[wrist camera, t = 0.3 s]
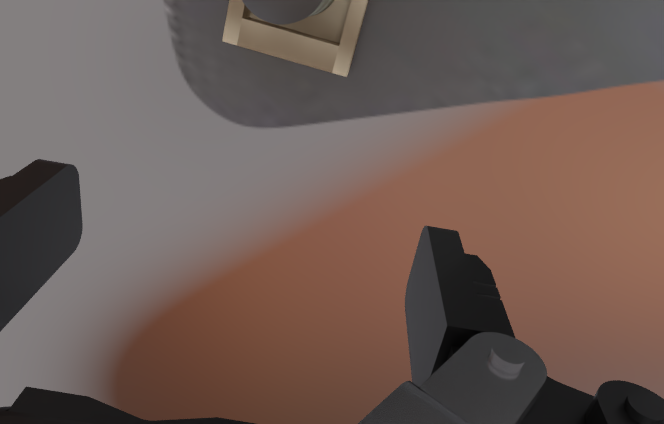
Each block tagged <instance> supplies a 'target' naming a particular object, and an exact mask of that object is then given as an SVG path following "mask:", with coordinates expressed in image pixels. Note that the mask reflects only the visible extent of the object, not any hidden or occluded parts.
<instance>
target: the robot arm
mask: <svg viewBox="0 0 664 424" xmlns="http://www.w3.org/2000/svg"><path fill="white" fill-rule="evenodd" d="M81 234H82V213H81V199H80V185H79V174H78V171H77V169H76V167H75V166H74V165H71V164H64V163H58V162H52V161H47V160H41V159H38V160H35V161H34V162H32V163H31V164H29V165H28V166H26V167H25V168H23V169H22V170H20V171H19V172H17V173H16V174H15V175H13V176H9V177H6V178H3V179H0V331H1V330H2V329H3V328H4V327H5V326H6V325H7V323H9V321H10V320H11V319H12V318H13V317H14V316H15V315H16V314H17V313H18V312H19V310H21V309H22V307H23V306H24V305H25V304H26V303H27V302H28V301H29V300H30V299H31V298H32V297H33V295H34V294H35V293H36V292H37V291H38V290H39V289H40V288H41V287H42V286H43V285H44V284H45V283H46V281H47V280H48V279H49V278H50V277H51V276H52V275H53V274H54V273H55V272H56V270H58V268H59V267H60V266H61V265H62V264H63V263H64V262H65V261H66V260H67V259H68V258H69V257H70V256H71V255H72V253H73V252H74V251H75V250H76V248H77V246H78V244H79V242H80V239H81ZM405 312H406V323H407V333H408V343H409V353H410V363H411V374H412V382H411V381H406V382H404V383H403V384H401V385H400V386H399V387H398V388H397V389H396V390H394V391H393V392H392V393H391V394H390V395H389V396H388V397H387V398H386V399H385V400H383V401H382V402H381V403H380V404H379V405H378V406H377V407H376V408H375V409H374V410H372V411H371V412H370V413H369V414H368V415H367V416H366V417H365V418H364V419H363V420H361V421H360V422H359V423H358V424H664V399H663V398H661V397H660V396H658V395H657V394H655V393H653V392H651V391H650V390H648V389H646V388H643V387H642V386H639V385H636V384H634V383H630V382H626V381H608V382H605V383H603V384H602V385H601V386H600V387H599V389H598V391H597V393H596V394H595V396H592V395H589V394H587V393H584V392H582V391H579V390H576V389H574V388H571V387H569V386H566V385H564V384H562V383H559V382H557V381H555V380H553V379H551V378H549V377H548V376H547V370H546V367H545V364H544V362H543V361H542V359H541V358H540V357H539V355H538V354H537V353H536V352H535V351H534V350H533V349H532V348H530V347H529V346H528V345H526V344H524V343H523V342H521V341H519V340H518V339H516V338H515V336H514V333H513V330H512V327H511V325H510V322H509V319H508V317H507V314H506V311H505V308H504V305H503V303H502V301H501V300H500V294H499V292H498V289H497V288H496V283H495V281H494V278H493V275H492V272H491V270H490V269H489V268H488V267H487V266H486V265H485V264H484V263H483V261H482V260H481V259H480V258H479V257H478V256H476V255H470V254H465V253H464V250H463V247H462V243H461V240H460V237H459V233H458V232H457V231H454V230H448V229H442V228H437V227H430V226H425V227H424V228H423V230H422V233H421V236H420V240H419V243H418V247H417V250H416V254H415V258H414V261H413V265H412V269H411V272H410V276H409V279H408V283H407V289H406V296H405ZM0 424H254V423H248V422H242V421H235V420H229V419H224V418H217V417H216V418H198V419H180V420H161V421H148V420H143V419H140V418H138V417H135V416H133V415H131V414H128V413H126V412H124V411H121V410H119V409H116V408H114V407H112V406H109V405H107V404H105V403H102V402H100V401H97V400H95V399H93V398H90V397H87V396H81V395H74V394H68V393H62V392H56V391H50V390H43V389H37V388H31V387H26V388H25V389H24V390H23V391H22V393H21V394H20V395H19V397H18V398H17V399H16V401H15V402H14V403H13V405H12V406H11V407H0Z"/></svg>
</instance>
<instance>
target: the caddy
mask: <svg viewBox="0 0 664 424" xmlns="http://www.w3.org/2000/svg"><path fill="white" fill-rule="evenodd" d="M368 1H369V0H229V6H228V11H227V17H226V23H225V28H224V34H223V40H222V41H223V42H227V43H230V44H233V45H237V46H240V47H244V48H247V49H251V50H254V51H258V52H261V53H265V54H268V55H272V56H275V57H278V58H282V59H285V60H289V61H292V62H296V63H299V64H303V65H306V66H310V67H313V68H317V69H320V70H324V71H327V72H330V73H334V74H337V75H341V76H344V77H347V75H348V73H349V70H350V67H351V63H352V59H353V56H354V52H355V48H356V45H357V41H358V37H359V34H360V30H361V27H362V23H363V19H364V16H365V12H366V8H367V5H368Z"/></svg>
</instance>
